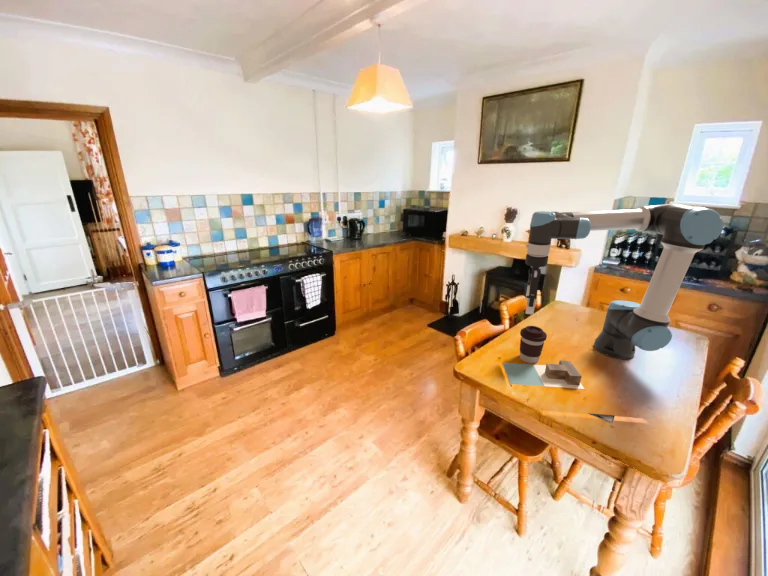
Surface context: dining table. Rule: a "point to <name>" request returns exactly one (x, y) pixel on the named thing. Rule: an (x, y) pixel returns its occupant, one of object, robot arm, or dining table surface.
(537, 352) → the coffee cup
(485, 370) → the dining table surface
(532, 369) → the board
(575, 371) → the t block
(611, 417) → the smartphone
